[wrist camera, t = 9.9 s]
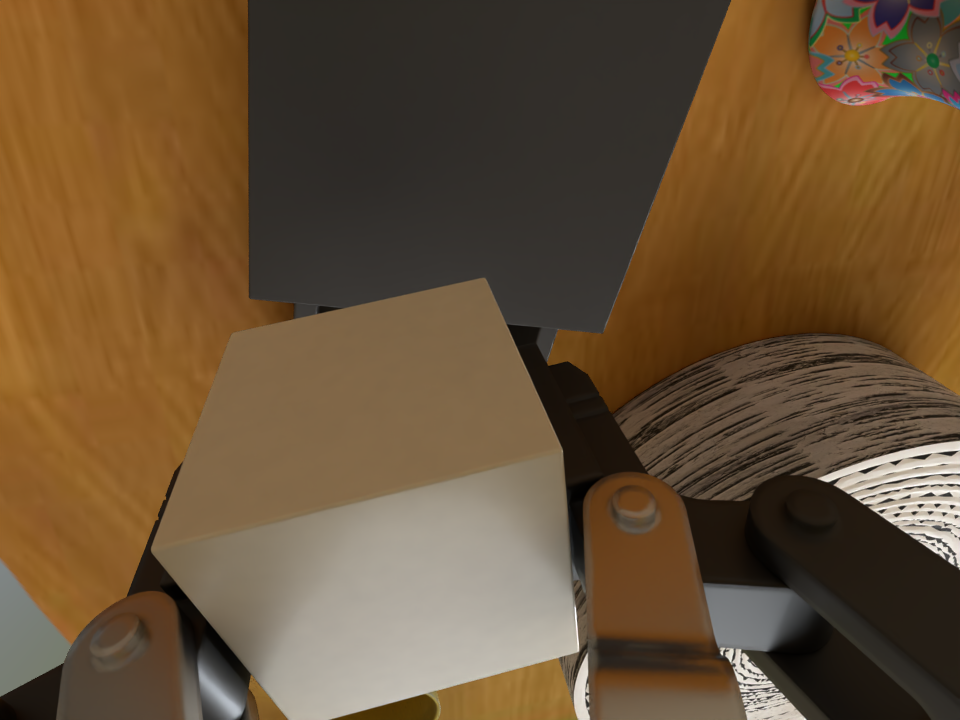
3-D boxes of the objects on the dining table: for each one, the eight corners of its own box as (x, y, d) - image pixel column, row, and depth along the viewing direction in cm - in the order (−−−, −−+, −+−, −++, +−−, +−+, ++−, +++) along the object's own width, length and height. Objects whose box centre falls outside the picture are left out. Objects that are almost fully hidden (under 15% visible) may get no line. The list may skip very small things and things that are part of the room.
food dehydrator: (542, 363, 33) (689, 645, 19) (1005, 309, 39) (1393, 495, 24) (518, 676, 54) (579, 921, 40) (820, 612, 60) (968, 807, 46)
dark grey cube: (533, 241, 29) (603, 334, 21) (279, 204, 25) (248, 299, 17) (633, -114, 21) (800, -177, 13) (291, -238, 18) (245, -424, 10)
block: (314, 503, 12) (295, 730, 8) (230, 332, 9) (146, 550, 6) (513, 454, 12) (579, 653, 9) (485, 275, 10) (564, 449, 6)
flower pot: (422, 656, 49) (433, 746, 43) (305, 669, 46) (299, 767, 40) (435, 587, 44) (448, 679, 38) (303, 598, 41) (295, 698, 35)
